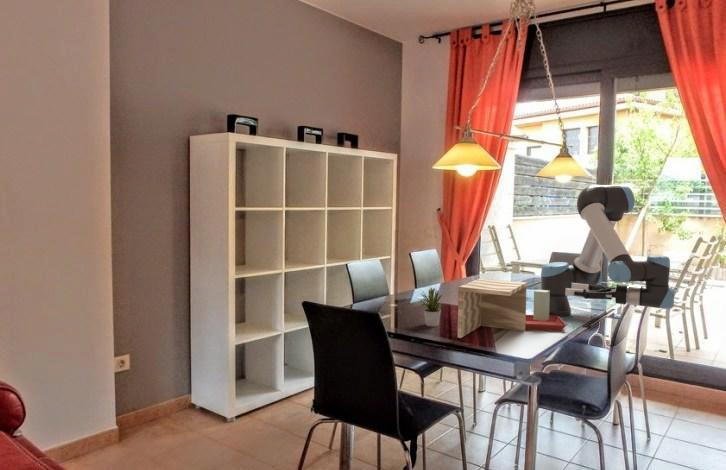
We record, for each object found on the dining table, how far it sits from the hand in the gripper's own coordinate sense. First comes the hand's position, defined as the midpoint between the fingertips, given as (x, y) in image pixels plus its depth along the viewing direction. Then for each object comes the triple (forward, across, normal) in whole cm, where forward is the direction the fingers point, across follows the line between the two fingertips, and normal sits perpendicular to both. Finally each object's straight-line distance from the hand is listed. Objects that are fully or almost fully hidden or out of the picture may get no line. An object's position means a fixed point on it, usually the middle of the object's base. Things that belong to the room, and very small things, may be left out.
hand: (568, 288), depth 215 cm
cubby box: (+23, -22, -17) cm, 36 cm away
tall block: (+11, +2, -14) cm, 18 cm away
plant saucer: (+11, +2, -18) cm, 21 cm away
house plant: (+51, -20, -18) cm, 58 cm away
